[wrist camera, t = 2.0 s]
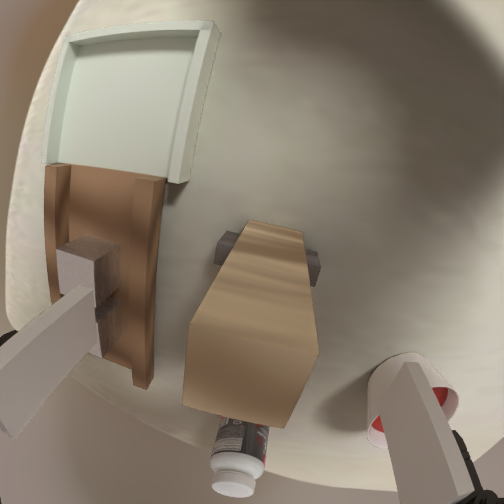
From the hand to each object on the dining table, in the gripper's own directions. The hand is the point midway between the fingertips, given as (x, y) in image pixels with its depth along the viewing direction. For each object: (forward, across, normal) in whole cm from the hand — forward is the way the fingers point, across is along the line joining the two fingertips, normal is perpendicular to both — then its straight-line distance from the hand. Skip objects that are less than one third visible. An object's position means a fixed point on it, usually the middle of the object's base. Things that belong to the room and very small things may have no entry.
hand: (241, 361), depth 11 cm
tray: (+12, -14, +10) cm, 21 cm away
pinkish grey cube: (+12, -14, -9) cm, 20 cm away
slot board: (+12, -14, -6) cm, 19 cm away
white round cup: (+13, +16, -10) cm, 23 cm away
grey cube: (+12, -14, -4) cm, 18 cm away
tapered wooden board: (+12, 0, 0) cm, 12 cm away
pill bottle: (+13, +2, -20) cm, 23 cm away
